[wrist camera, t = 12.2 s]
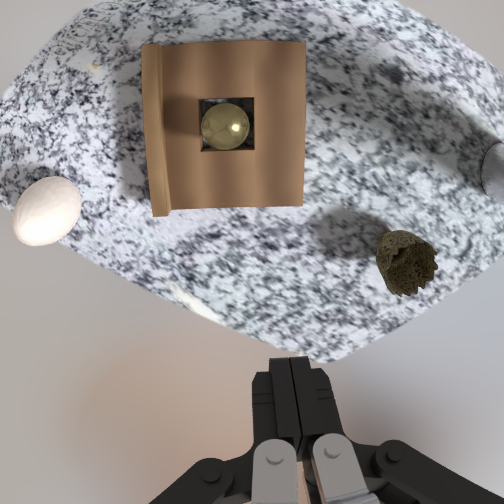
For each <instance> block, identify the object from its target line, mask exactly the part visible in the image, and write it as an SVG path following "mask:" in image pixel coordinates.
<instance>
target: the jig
mask: <svg viewBox="0 0 504 504" xmlns="http://www.w3.org/2000/svg"><path fill="white" fill-rule="evenodd" d="M141 57H142V100H143V119H144V135H145V148H146V159H147V170H148V180H149V189H150V197H151V205H152V213H153V217H161V216H168V214H169V213H170V211H171V210H177V209H200V208H228V207H276V206H303V186H304V160H305V122H306V43H304V42H290V41H265V40H239V41H214V42H199V43H188V44H179V45H171V46H163V47H162V46H161V45H159V44H158V43H155V44H149V45H143V46H142V49H141ZM225 98H253V146H251V147H235V148H232V149H227V150H222V149H218V148H203V134H202V131H201V123H202V100H205V99H225Z"/></svg>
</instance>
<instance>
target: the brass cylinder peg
mask: <svg viewBox="0 0 504 504" xmlns="http://www.w3.org/2000/svg"><path fill="white" fill-rule="evenodd" d="M201 131H202V134H203V137H204V139H205V140H206V141H207V142H208V143H209V144H210V145H211V146H213V147H215V148H218V149H222V150H227V149H232V148H235V147H237V146H239V145H240V144H241V143H242V142H243V141H244V140H245V139H246V137H247V135H248V132H249V120H248V117H247V115H246V113H245V112H244V111H243V110H242V109H241V108H240V107H238V106H236V105H233V104H229V103H222V104H218V105H215V106H213V107H212V108H210V109H209V110H208V111H207V112H206V113H205V115H204V117H203V119H202V123H201Z"/></svg>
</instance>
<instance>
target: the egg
mask: <svg viewBox="0 0 504 504" xmlns="http://www.w3.org/2000/svg"><path fill="white" fill-rule="evenodd" d="M80 211H81V195H80V193H79V190H78V189H77V187H76V186H75V184H74V183H73V182H71V181H70V180H68V179H66V178H64V177H60V176H50V177H45V178H43V179H40V180H38V181H37V182H35V183H33V184H32V185H31V186H30V187H28V188H27V189H26V190H25V191H24V193H23V194H22V195H21V197H20V198H19V200H18V202H17V204H16V206H15V208H14V211H13V216H12V227H13V231H14V234H15V235H16V237H17V238H18V239H19V240H20V241H22V242H23V243H24V244H27V245H30V246H42V245H47V244H51V243H54V242H56V241H57V240H59V239H61V238H62V237H64V236H65V235H66V234H67V233H68V232H69V231H70V230H71V229H72V228H73V226H74V225H75V224H76V222H77V220H78V218H79V215H80Z"/></svg>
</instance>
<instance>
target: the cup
mask: <svg viewBox="0 0 504 504" xmlns="http://www.w3.org/2000/svg"><path fill="white" fill-rule="evenodd" d="M434 255H436V256H437V252H436V251H435V250H434V247H433V246H432V245H430V244H429V243H427V242H425V241H424V240H422V239H421V238H419V237H418V236H416V235H414V234H412V233H410V232H407V231H403V230H397V231H393V232H386V233H384V234H383V235H381V237H380V238H379V240H378V243H377V250H376V262H377V266H378V268H379V271H380V273H381V275H382V277H383V279H384V281H385V283H386V286H387V288H388V289H389V290H390V292H391V293H392V294H393V295H395V294H396V293H397V294H398V295H399V296H400V297H402V293H403V294H405V295H408V296H411V294H417V293H418V286H419V287H421V288H422V289H424V288H425V283H426V282H430V281H432V280H433V279H434V270H437V269H438V265H437V264H436V263H435V261H434V259H435V256H434Z"/></svg>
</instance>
